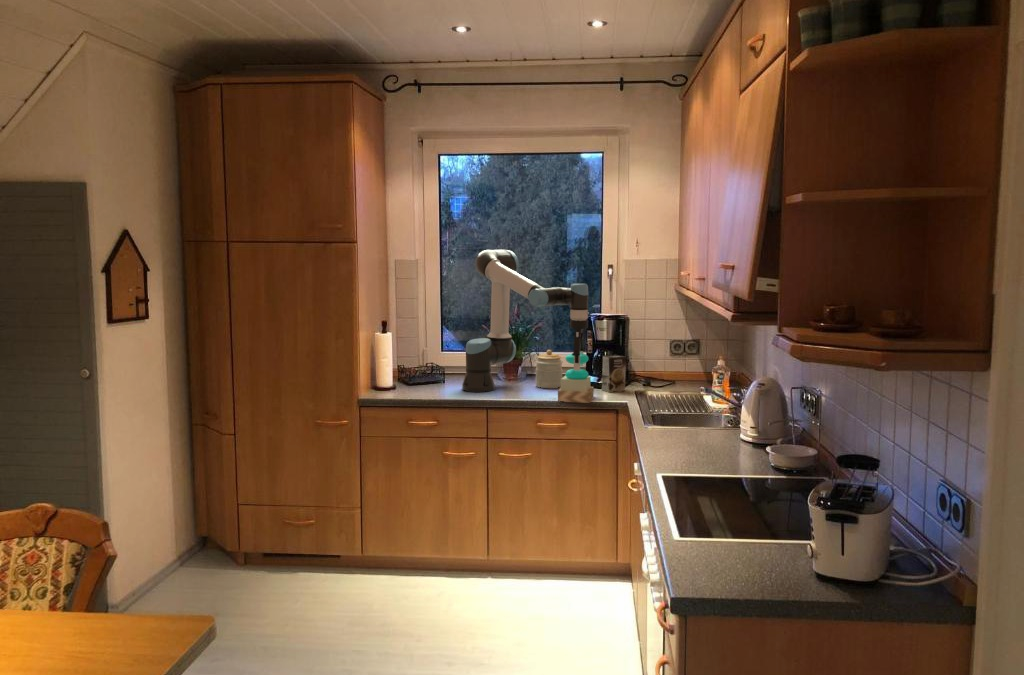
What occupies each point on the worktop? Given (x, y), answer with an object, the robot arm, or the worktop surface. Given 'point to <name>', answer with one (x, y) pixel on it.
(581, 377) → the donuts
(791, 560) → the worktop surface
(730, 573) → the worktop surface
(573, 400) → the tower base
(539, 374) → the jar
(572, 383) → the tower top
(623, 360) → the coffee box
